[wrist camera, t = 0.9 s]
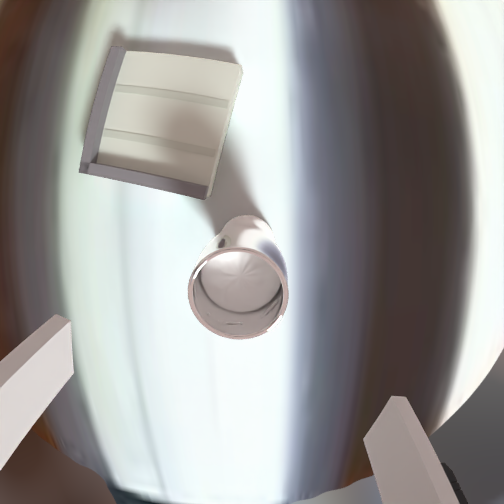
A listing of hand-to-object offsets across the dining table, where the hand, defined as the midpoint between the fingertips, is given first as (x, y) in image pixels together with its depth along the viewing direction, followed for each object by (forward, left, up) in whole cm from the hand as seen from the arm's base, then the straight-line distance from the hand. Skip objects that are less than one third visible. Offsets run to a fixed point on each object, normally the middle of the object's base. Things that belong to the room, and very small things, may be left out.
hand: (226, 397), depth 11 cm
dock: (-12, +11, -25) cm, 30 cm away
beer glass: (0, 0, -25) cm, 25 cm away
